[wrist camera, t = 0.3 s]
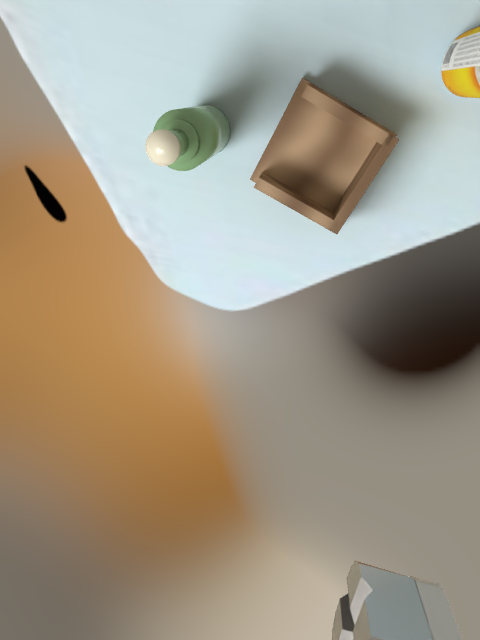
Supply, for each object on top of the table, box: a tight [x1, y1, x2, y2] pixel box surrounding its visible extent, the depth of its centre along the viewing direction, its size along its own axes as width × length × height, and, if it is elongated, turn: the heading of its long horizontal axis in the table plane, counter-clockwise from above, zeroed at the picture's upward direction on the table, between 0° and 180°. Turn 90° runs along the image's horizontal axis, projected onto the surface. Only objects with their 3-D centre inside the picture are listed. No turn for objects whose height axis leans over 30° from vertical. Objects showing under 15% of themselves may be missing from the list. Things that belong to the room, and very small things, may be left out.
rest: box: [250, 78, 399, 234], centre depth 50 cm, size 12×12×5 cm
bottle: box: [146, 105, 230, 171], centre depth 45 cm, size 5×5×18 cm
